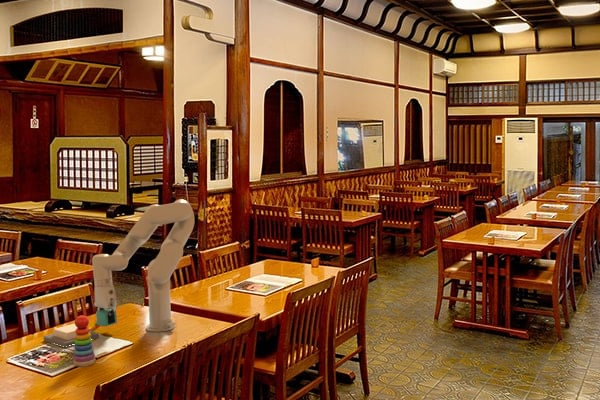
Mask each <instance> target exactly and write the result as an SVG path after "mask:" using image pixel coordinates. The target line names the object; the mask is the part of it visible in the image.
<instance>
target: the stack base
mask: <svg viewBox="0 0 600 400" xmlns="http://www.w3.org/2000/svg"><path fill="white" fill-rule="evenodd" d="M76 329H77V327H76V326H75V322H74V323H71V324H68V325H64V326H60V327H57V328H56V327H55V328H53V333H50V334H48V335H44V336H43V341H44V342H46V343H48V344H51V343H55V344H58V345H61V346H64V347H66V346H69V345H72V344H75V340H76V338H75V336H76V332H75V330H76ZM89 333H90V334H91V336H90V338H91V339H94V340H96V339H95V338H98V339H99V338H100V334H99V333H98V332H96V331H95V332H94V331H91V330H89Z"/></svg>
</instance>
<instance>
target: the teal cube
mask: <svg viewBox="0 0 600 400" xmlns="http://www.w3.org/2000/svg"><path fill="white" fill-rule="evenodd" d="M110 311H111V309H110ZM95 314H96V315H95V316H96V320H97V323H96V324H97V326H101V327H109V326H112V325H115V324H117V323H118V319H117V310H116V311H115V314H114V315H115V323H112V324H108V312H107V309H103V310H100V311H96V312H95Z"/></svg>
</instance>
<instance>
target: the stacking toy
mask: <svg viewBox="0 0 600 400" xmlns="http://www.w3.org/2000/svg"><path fill="white" fill-rule="evenodd" d="M74 323H75V326H76V327H77V329H76V330H75V332H76V336H75V338H76V340H75V345H74V350H73V354H74V356H73V362H72V363H73V365H74V366H75V367H81V368H82V367H88V366H91V365H93V364H95V363H96V361H97V360H96V357H95V356H96V355H95V352H94V347H93V342H92V340H91V338H90V336H91V334H90V333H89V331H90V327H89V326H88V325H90V324H89V323H90V319H89V318H88V316H86V315H79V316H77V317H76V318H75V320H74Z"/></svg>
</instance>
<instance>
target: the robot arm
mask: <svg viewBox="0 0 600 400" xmlns="http://www.w3.org/2000/svg"><path fill="white" fill-rule="evenodd" d="M168 224H173V226H172V228H171V229H170V232H168V235H167V236H166V237H165V239H164V241H163V242H162V244H161V246H160V251H159V253H158V254H157V256H156V257H155V258H154V259H152V260H151V261H150V262H149V264H147V265H148V266H147V286H148V287H147V288H148V319H149V324H147V325H146V326H145V329H146V330H147V331H148V332H152V333H153V332H154V333H157V332H158V333H160V332H161V333H162V332H166V331H167V332H168V331H171V330H172V329H174V328H175V327H176V324H177V323H176V322H174V321H173V318H172V311H171V310H172V309H171V281H170V280H171V279H170V278H171V276H172V275H173V273H174V272H175V270H176V268H177V266H178V265H179V263H180V262H181V259H183V255H184V247H185V245H186V243H187V241H188V239H190V236H191V234H192V232H193V229H194V227H195V214H194V210H193V208H192V205H191V204H190V203H189V201H187V200H185V199H182V198H181V199H176V200H175V201H174V202H172V203H167V204H166V203H165V204H157V203H156V204H151V205H149V206H148V207H147V209H145V211H144V212H143V214H142V215H141V216H140V218H139V219H138V220H137V221H136V222H135V223H134V225H133V227H132V228H131V229H130V230H129V232H128V234H127V235H126V236H125V237H124V239H123V240H122V241H121V242H120V243H119V245H118V246H117V248H116V249H115V250H114V251H113V253H112V254H108V253H100V254H95V255H93V256H92V259H91V263H92V273H93V282H94V303H93V305H94V307H95V308H96V310H97V311H100V310H103V309H107V312H108V324H112V323H115V315H114V314H115V311H116V312H117V309H118V302H117V294H116V289H115V286H114V285H113V275H112V274H113V273H112V271H115V272H116V271H123V270H125V269H126V268H127V267H128V264H129V260H130V259H131V258H132V256H133V255H135V253H136V252H137V250H138V249H139V248H140V247H141V246H142V245H143V244H145V243H146V242H147V241H148V240H150V237H151V236H152V235H153V233H154V232H155V231H156V230H157V229H158V227H159V226H161V225H168ZM110 309H111V311H110ZM97 311H96V312H97Z"/></svg>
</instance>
